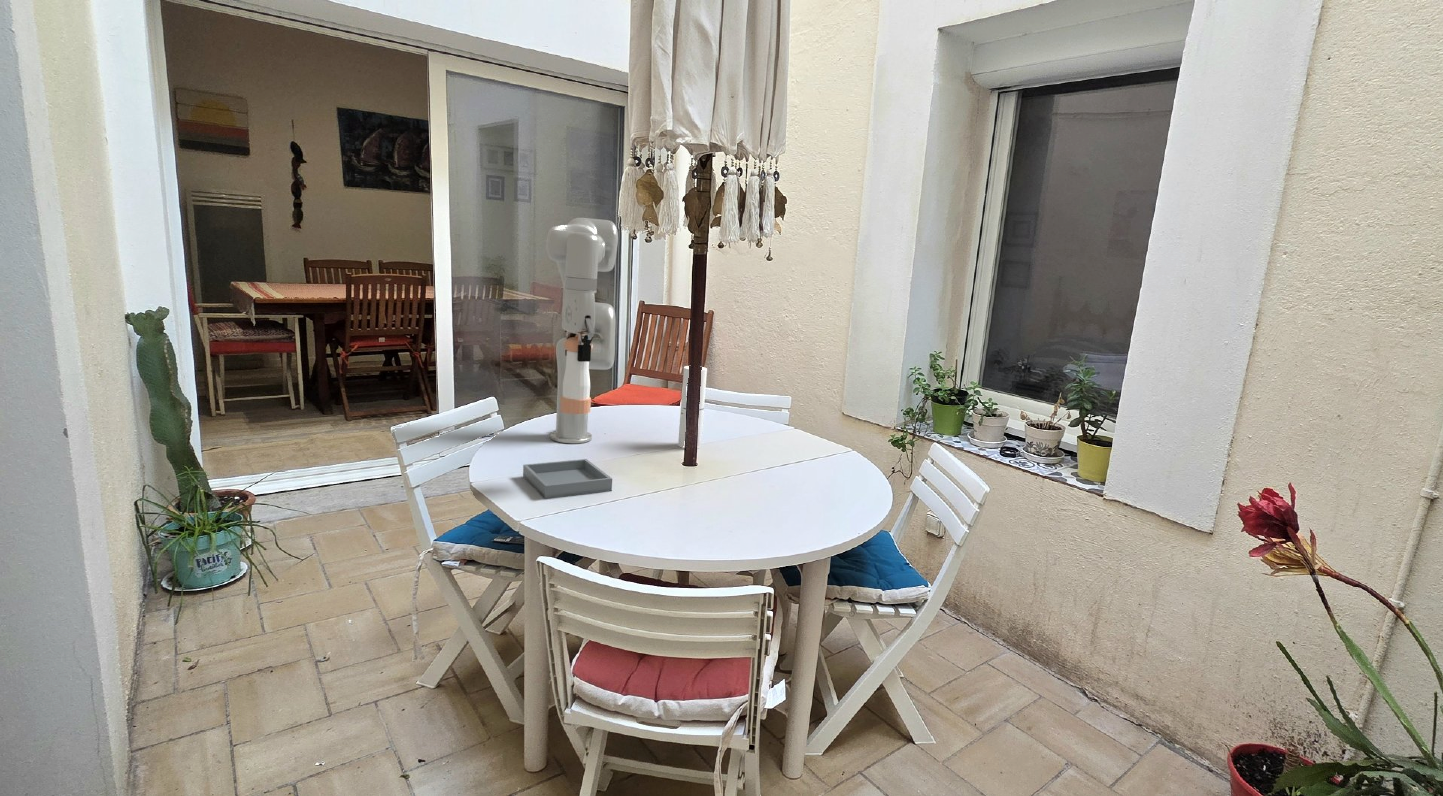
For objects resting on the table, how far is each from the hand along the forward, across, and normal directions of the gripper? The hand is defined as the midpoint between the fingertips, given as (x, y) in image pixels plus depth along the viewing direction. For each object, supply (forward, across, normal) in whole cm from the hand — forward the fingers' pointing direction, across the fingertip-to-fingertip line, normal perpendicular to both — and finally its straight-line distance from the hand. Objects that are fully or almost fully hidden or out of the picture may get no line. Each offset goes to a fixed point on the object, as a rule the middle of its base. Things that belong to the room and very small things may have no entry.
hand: (577, 358), depth 171 cm
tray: (+32, 0, -2) cm, 32 cm away
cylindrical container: (+32, -20, +47) cm, 60 cm away
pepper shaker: (+13, 0, 0) cm, 13 cm away
